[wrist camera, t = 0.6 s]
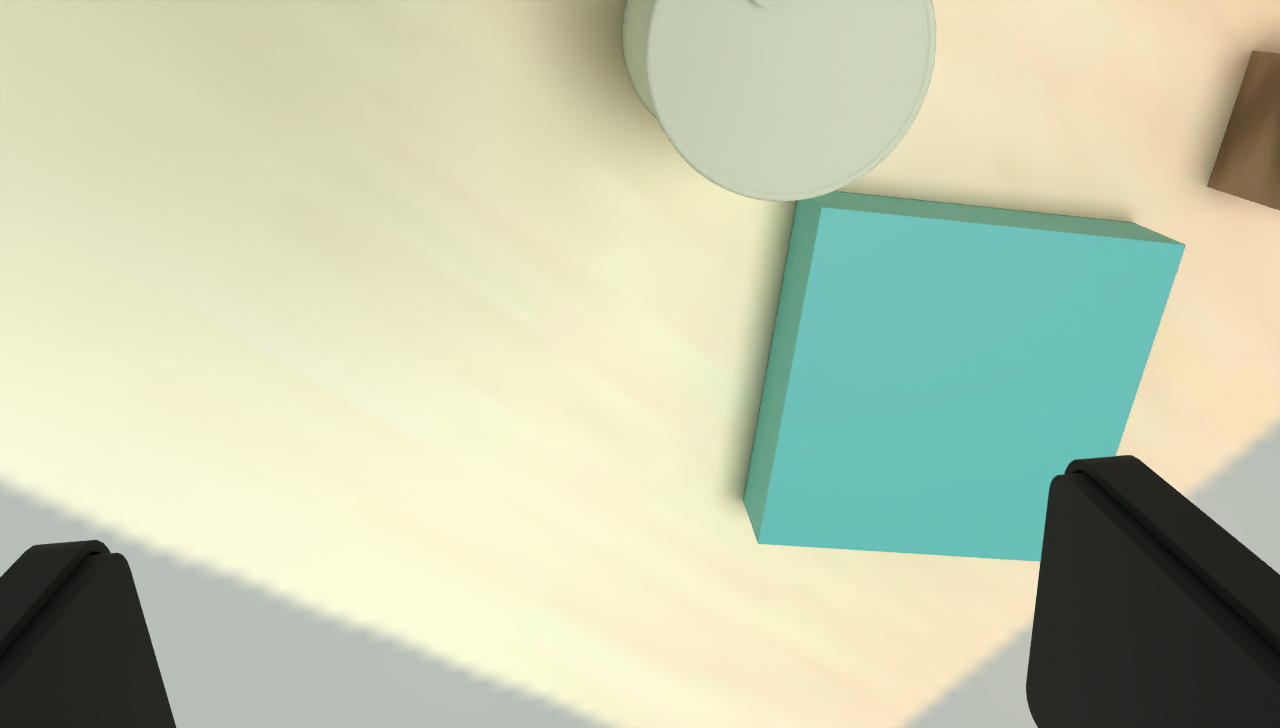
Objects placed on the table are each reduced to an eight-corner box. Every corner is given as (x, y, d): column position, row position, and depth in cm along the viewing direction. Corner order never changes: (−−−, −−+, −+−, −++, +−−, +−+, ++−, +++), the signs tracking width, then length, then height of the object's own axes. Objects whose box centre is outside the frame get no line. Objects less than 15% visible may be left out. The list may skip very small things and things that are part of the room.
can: (793, -128, 38) (887, -171, 27) (870, 89, 42) (982, 130, 30) (584, -23, 39) (593, -23, 28) (676, 182, 42) (717, 254, 31)
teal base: (799, 187, 43) (821, 207, 39) (1134, 222, 45) (1185, 245, 41) (743, 500, 49) (757, 543, 45) (1041, 520, 50) (1079, 563, 47)
